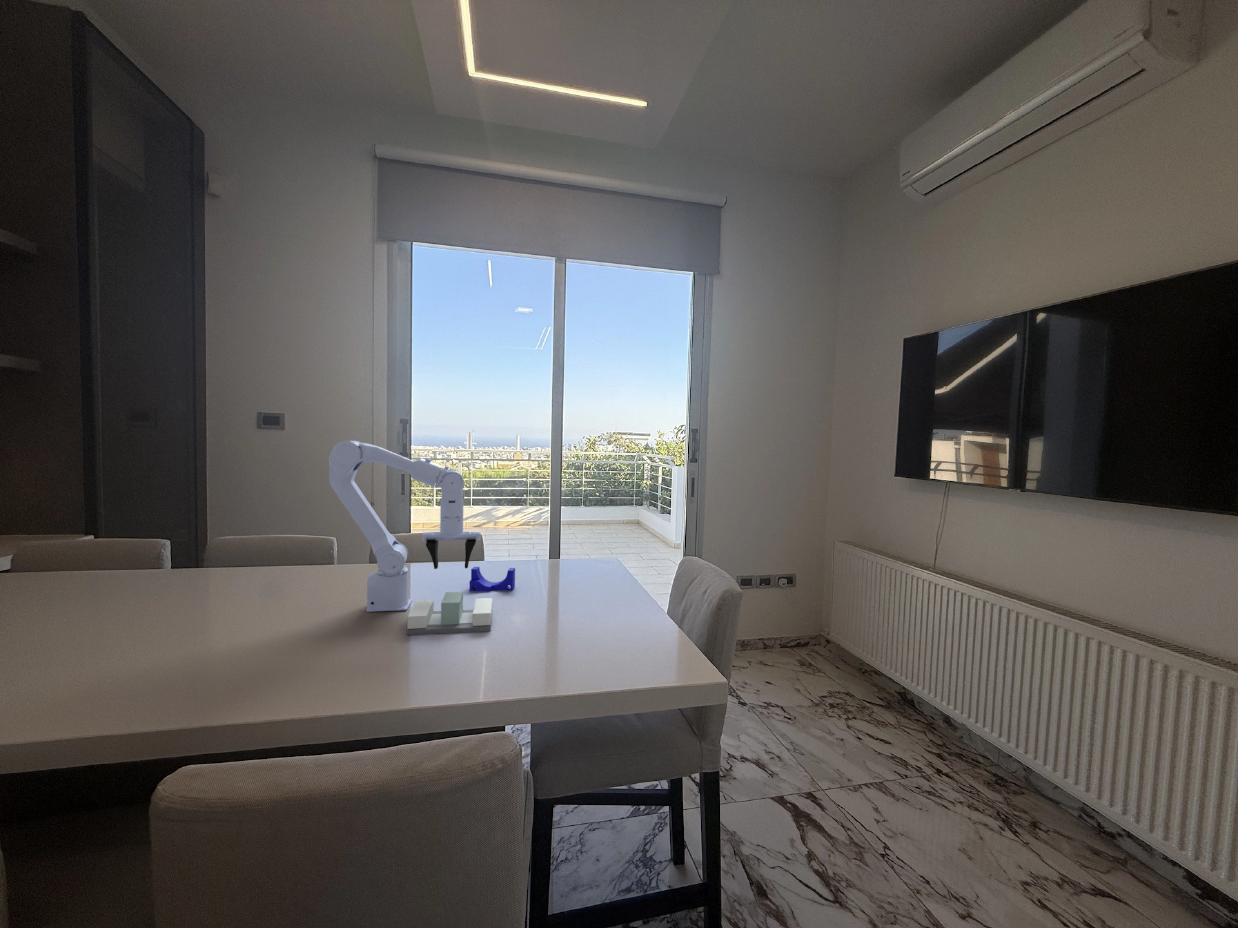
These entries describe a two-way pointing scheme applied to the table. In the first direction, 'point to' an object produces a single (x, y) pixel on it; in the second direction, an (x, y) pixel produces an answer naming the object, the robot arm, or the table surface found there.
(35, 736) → the table surface
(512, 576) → the blue cradle bracket
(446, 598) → the block
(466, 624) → the white and grey fixture
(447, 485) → the robot arm
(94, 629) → the table surface
